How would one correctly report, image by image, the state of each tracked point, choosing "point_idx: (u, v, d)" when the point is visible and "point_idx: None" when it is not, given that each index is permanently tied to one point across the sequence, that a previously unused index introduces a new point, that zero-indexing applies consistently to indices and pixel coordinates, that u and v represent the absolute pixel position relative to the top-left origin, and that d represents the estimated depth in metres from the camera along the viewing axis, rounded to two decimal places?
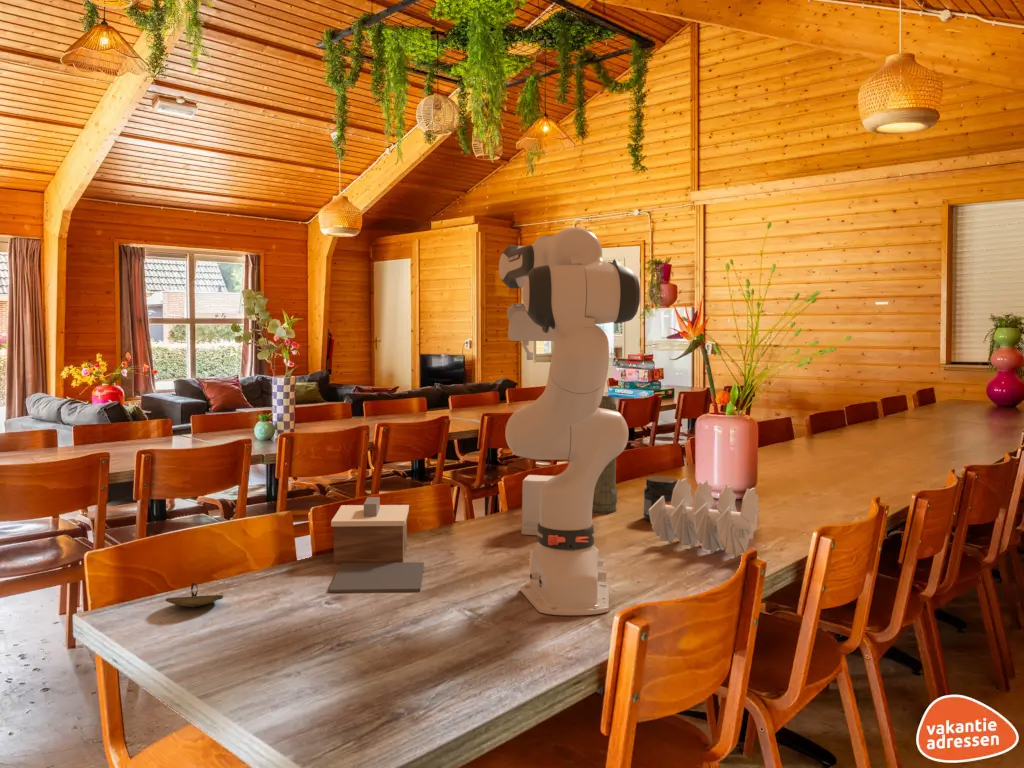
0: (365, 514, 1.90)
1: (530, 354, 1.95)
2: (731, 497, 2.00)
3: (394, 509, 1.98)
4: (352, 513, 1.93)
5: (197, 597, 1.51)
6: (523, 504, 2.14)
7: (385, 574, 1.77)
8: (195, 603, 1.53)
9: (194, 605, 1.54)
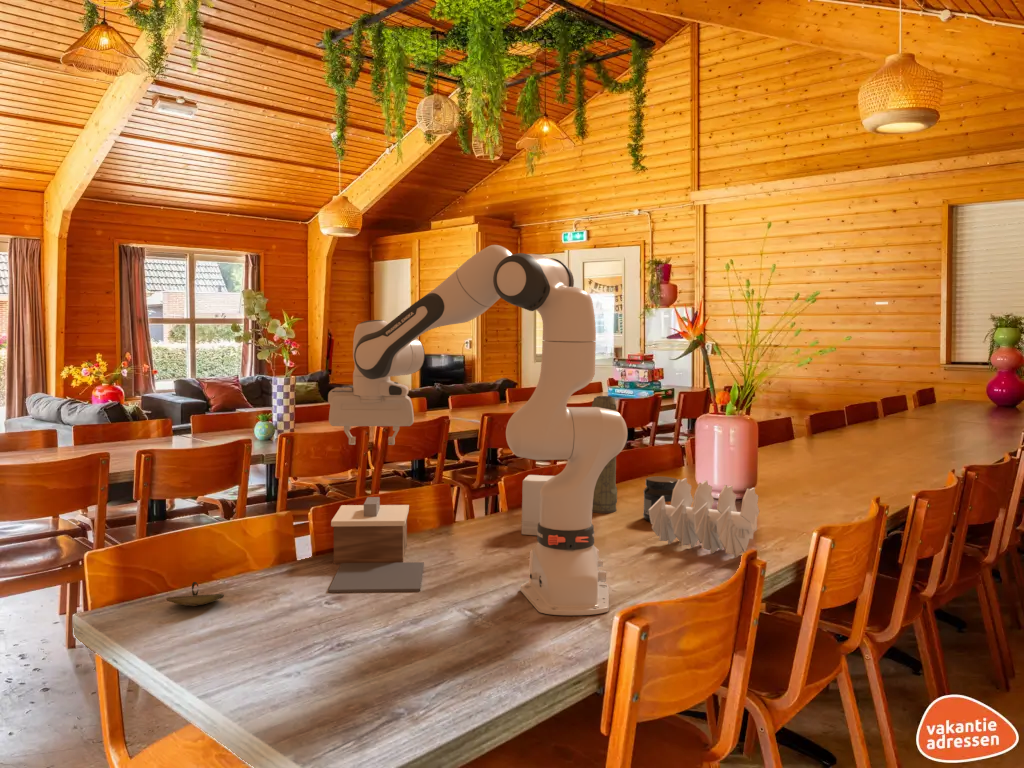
0: (365, 514, 1.90)
1: (352, 439, 1.92)
2: (731, 497, 2.00)
3: (394, 509, 1.98)
4: (352, 513, 1.93)
5: (198, 596, 1.52)
6: (523, 504, 2.14)
7: (385, 574, 1.77)
8: (196, 602, 1.54)
9: (195, 604, 1.54)
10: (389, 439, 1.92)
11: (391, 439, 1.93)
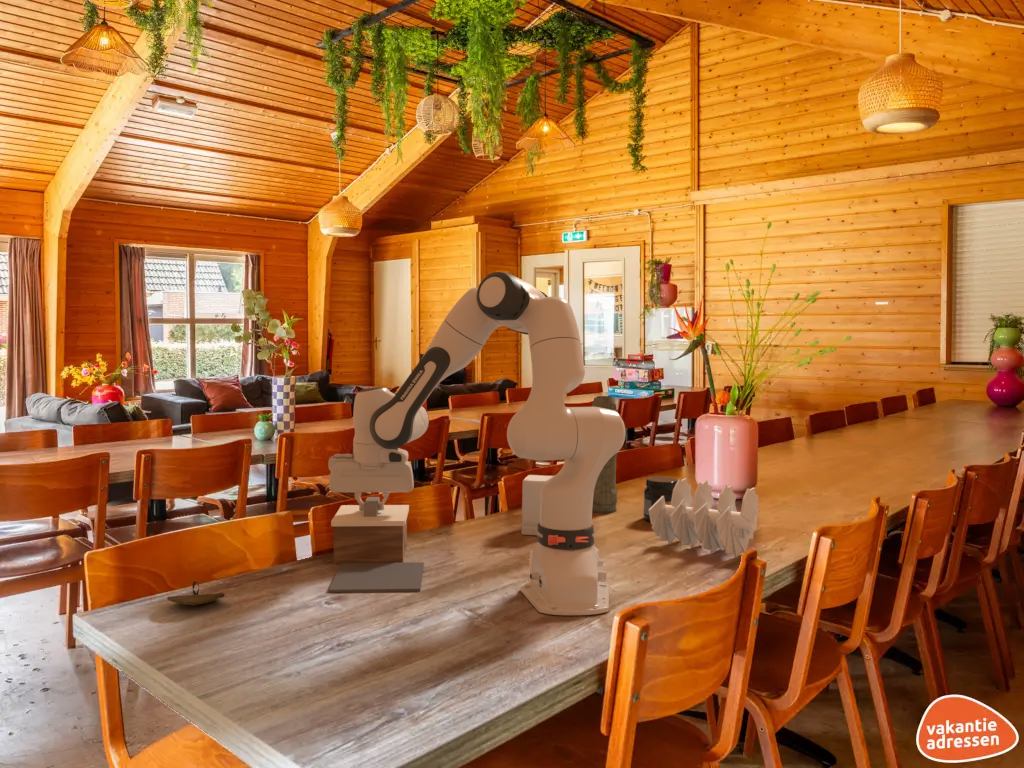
0: (365, 514, 1.90)
1: (362, 505, 1.93)
2: (731, 497, 2.00)
3: (394, 509, 1.98)
4: (352, 513, 1.93)
5: (199, 595, 1.52)
6: (523, 504, 2.14)
7: (385, 574, 1.77)
8: (197, 601, 1.54)
9: (196, 603, 1.55)
10: (379, 505, 1.93)
11: (381, 505, 1.93)
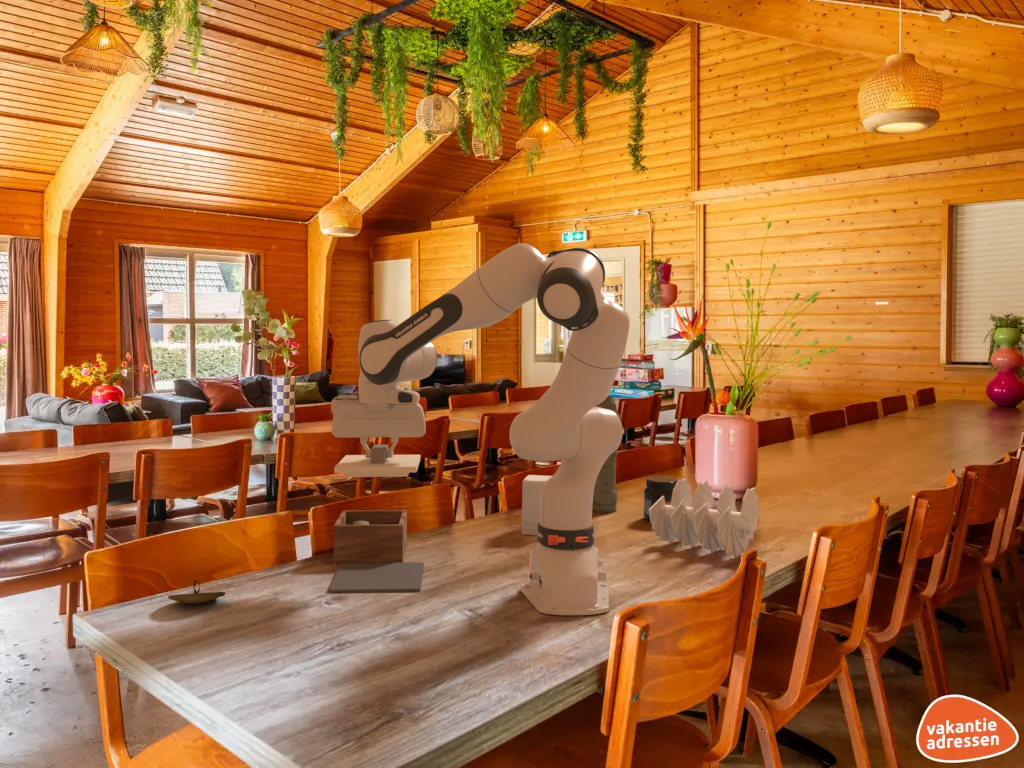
0: (372, 461, 1.71)
1: (369, 452, 1.74)
2: (731, 497, 2.00)
3: (404, 458, 1.79)
4: (358, 461, 1.74)
5: (200, 594, 1.53)
6: (523, 504, 2.14)
7: (385, 574, 1.77)
8: (198, 600, 1.55)
9: (197, 602, 1.56)
10: (387, 451, 1.74)
11: (389, 451, 1.74)
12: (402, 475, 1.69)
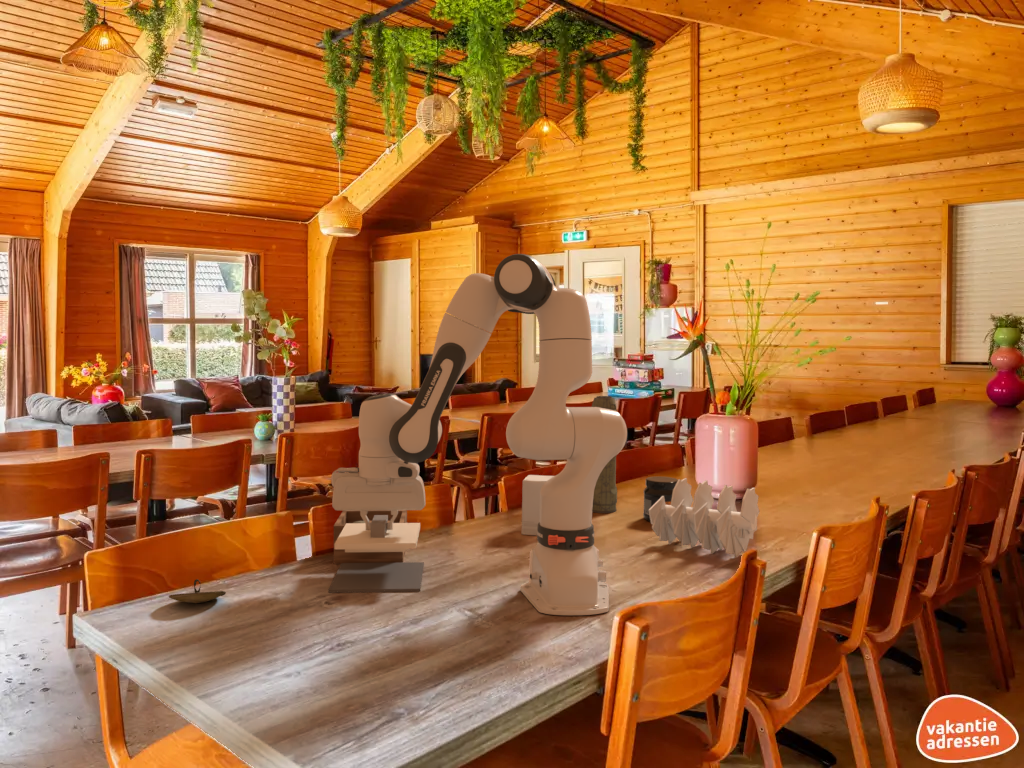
0: (372, 535, 1.72)
1: (369, 524, 1.75)
2: (731, 497, 2.00)
3: (404, 528, 1.80)
4: (358, 533, 1.75)
5: (201, 593, 1.54)
6: (523, 504, 2.14)
7: (385, 574, 1.77)
8: (199, 599, 1.55)
9: (197, 601, 1.56)
10: (387, 524, 1.75)
11: (389, 524, 1.75)
12: (402, 550, 1.70)
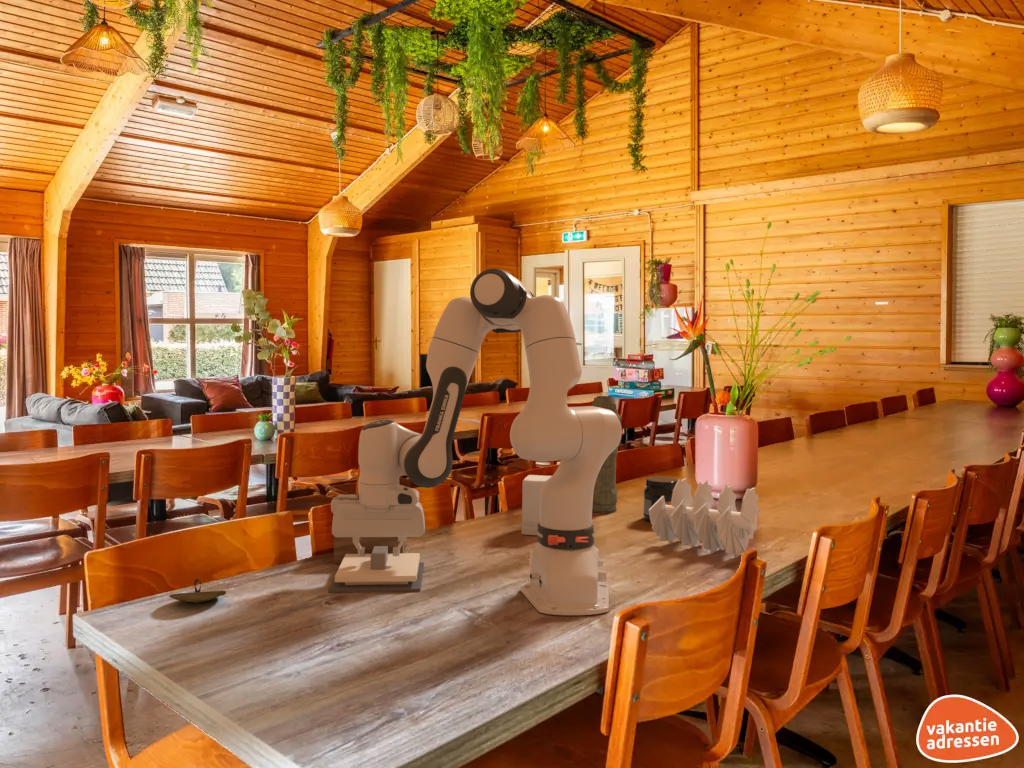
0: (372, 567, 1.72)
1: (361, 551, 1.75)
2: (731, 497, 2.00)
3: (404, 559, 1.80)
4: (358, 565, 1.75)
5: (201, 593, 1.54)
6: (523, 504, 2.14)
7: None
8: (199, 599, 1.56)
9: (198, 601, 1.56)
10: (394, 551, 1.75)
11: (396, 551, 1.75)
12: (402, 583, 1.70)
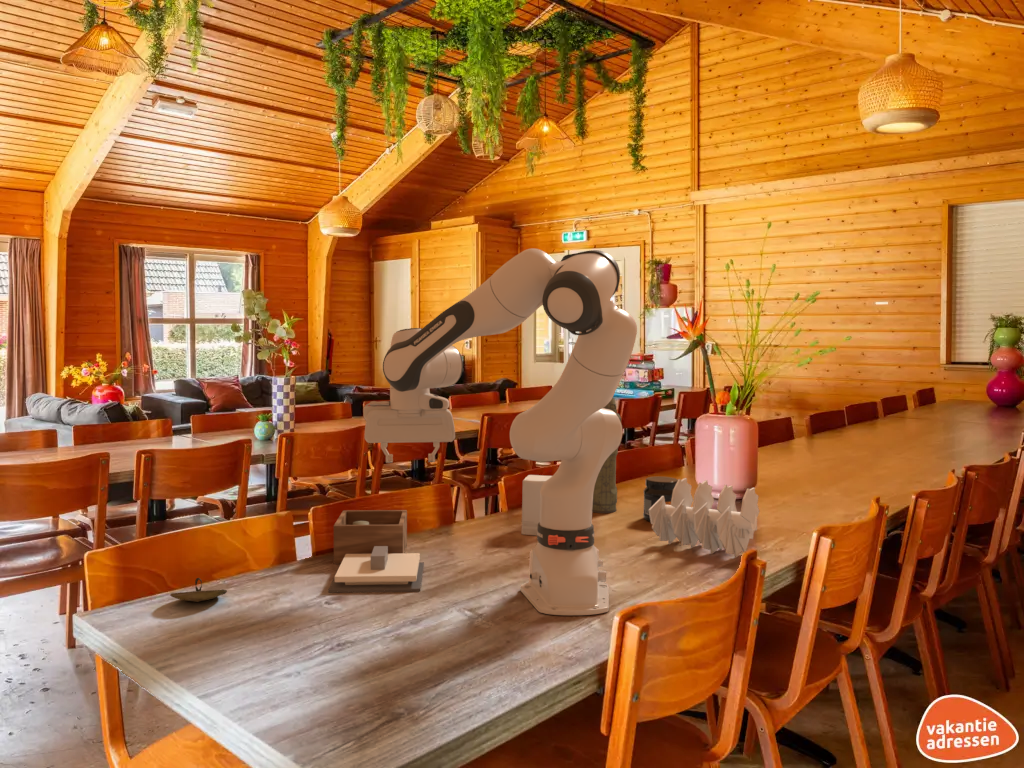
0: (372, 567, 1.72)
1: (389, 457, 1.78)
2: (731, 497, 2.00)
3: (404, 559, 1.80)
4: (358, 565, 1.75)
5: (202, 592, 1.54)
6: (523, 504, 2.14)
7: None
8: (200, 598, 1.56)
9: (199, 600, 1.57)
10: (429, 456, 1.79)
11: (431, 456, 1.79)
12: (402, 583, 1.70)
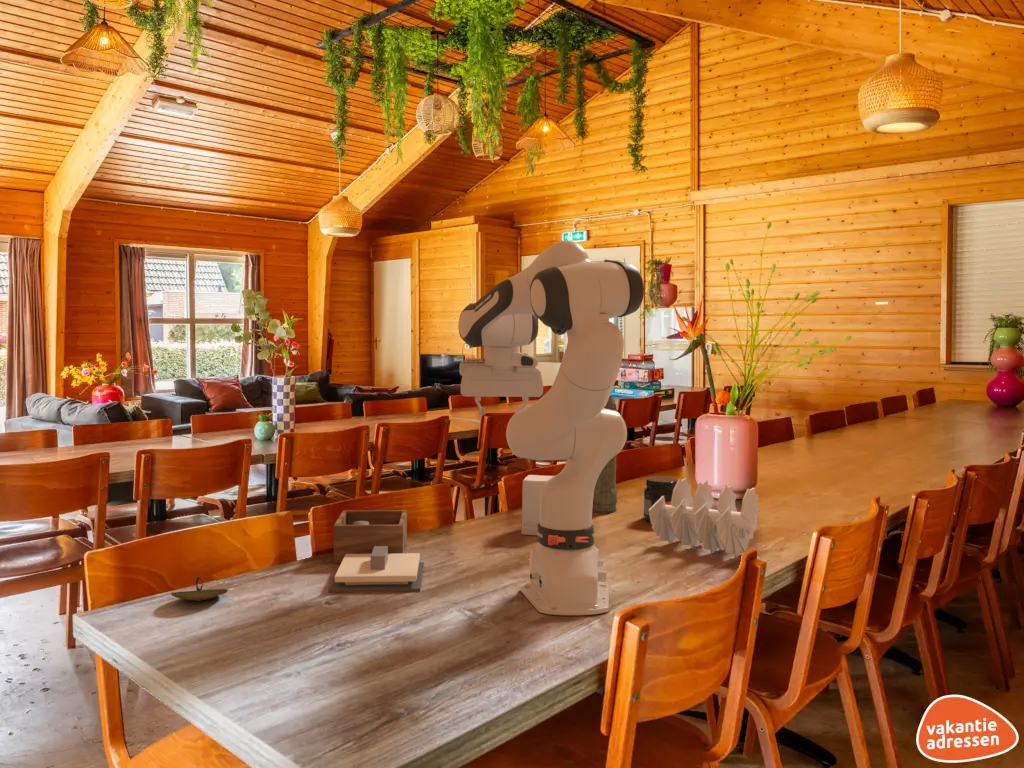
0: (372, 567, 1.72)
1: (482, 409, 1.95)
2: (731, 497, 2.00)
3: (404, 559, 1.80)
4: (358, 565, 1.75)
5: (203, 591, 1.55)
6: (523, 504, 2.14)
7: None
8: (201, 597, 1.57)
9: (200, 599, 1.57)
10: (519, 410, 1.95)
11: (521, 410, 1.95)
12: (402, 583, 1.70)
